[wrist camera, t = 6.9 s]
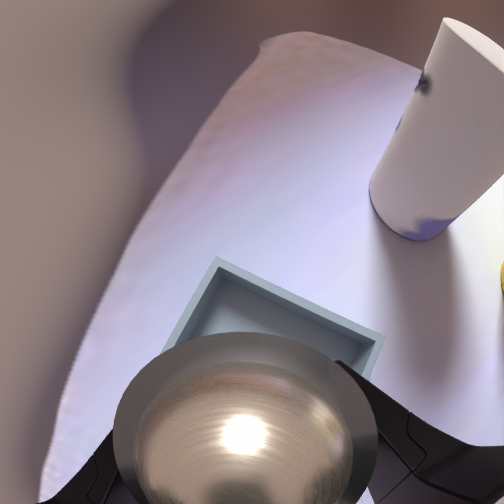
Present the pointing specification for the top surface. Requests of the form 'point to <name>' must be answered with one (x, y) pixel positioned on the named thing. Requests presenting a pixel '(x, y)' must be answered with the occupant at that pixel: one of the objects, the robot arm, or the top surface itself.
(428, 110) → the container
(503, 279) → the plant pot
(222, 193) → the top surface
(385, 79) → the top surface
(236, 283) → the bin
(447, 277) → the top surface
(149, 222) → the top surface
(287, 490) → the metallic can
